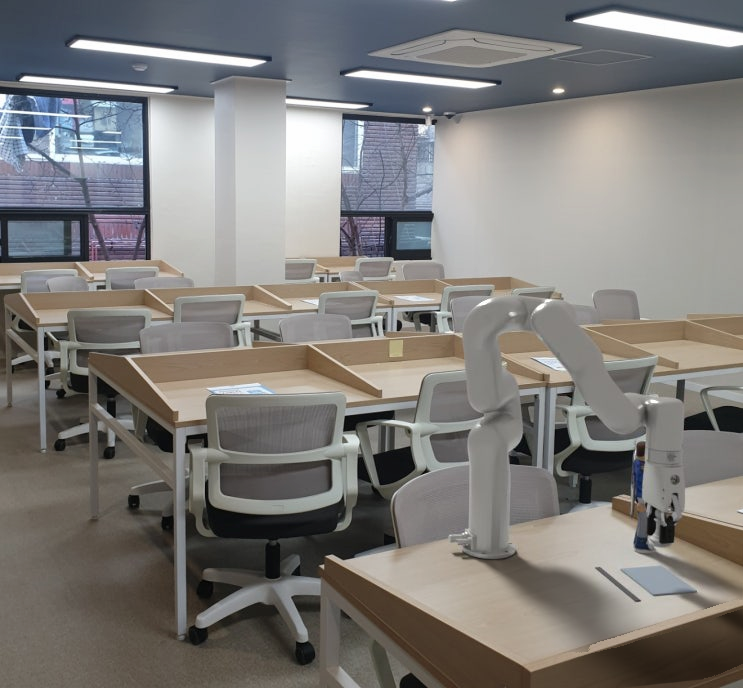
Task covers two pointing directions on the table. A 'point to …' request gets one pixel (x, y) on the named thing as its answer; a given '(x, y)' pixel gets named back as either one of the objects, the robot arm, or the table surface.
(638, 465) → the figurine
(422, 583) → the table surface
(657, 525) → the chess piece
